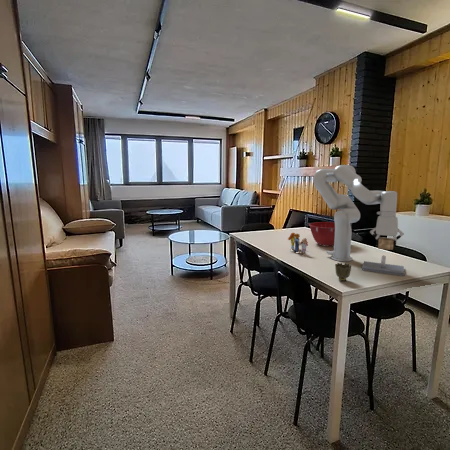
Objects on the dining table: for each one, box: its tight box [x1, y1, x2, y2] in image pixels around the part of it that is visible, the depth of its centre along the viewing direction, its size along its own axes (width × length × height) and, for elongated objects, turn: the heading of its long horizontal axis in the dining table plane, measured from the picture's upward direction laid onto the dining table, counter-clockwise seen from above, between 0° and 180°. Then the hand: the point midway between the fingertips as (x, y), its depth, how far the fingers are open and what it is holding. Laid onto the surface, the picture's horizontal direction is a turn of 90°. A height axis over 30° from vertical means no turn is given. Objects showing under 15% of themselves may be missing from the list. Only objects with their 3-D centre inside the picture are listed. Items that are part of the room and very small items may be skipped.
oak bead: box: [377, 236, 394, 251], centre depth 157 cm, size 7×7×5 cm
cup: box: [334, 262, 352, 282], centre depth 143 cm, size 8×7×8 cm
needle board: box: [361, 255, 405, 277], centre depth 160 cm, size 20×14×8 cm
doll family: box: [287, 232, 309, 255], centre depth 198 cm, size 21×10×13 cm, turn 7°
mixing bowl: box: [308, 221, 335, 247], centre depth 219 cm, size 28×28×16 cm
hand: (385, 246), depth 158 cm, fingers closed on oak bead, 7 cm apart
